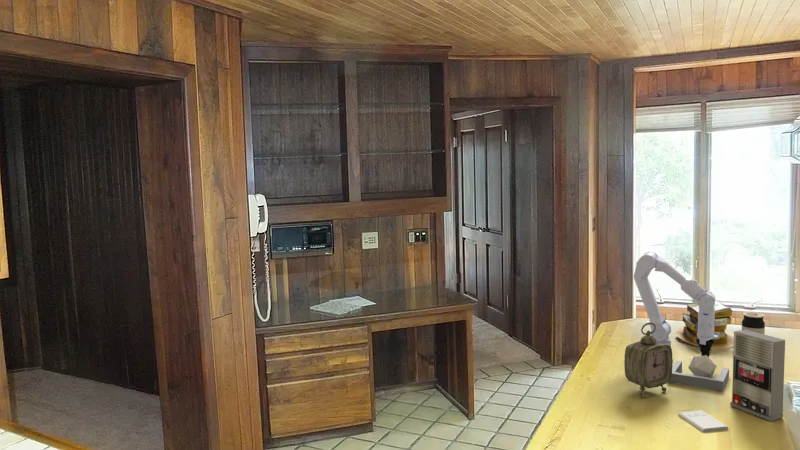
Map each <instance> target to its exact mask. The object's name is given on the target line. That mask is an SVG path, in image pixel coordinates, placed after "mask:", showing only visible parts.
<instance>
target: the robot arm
mask: <svg viewBox="0 0 800 450" xmlns="http://www.w3.org/2000/svg"><path fill="white" fill-rule="evenodd" d="M652 270H654V272H662V273H664V274H665V275H667V276H668V277H669V278H671V279H672V280H674V281H675V282H676V283H678V284H679V286H680V290H681V291H683V293H685V294H686V295H688V297H690V298H691V299H692V300H693V301H696V302H697V303H696V304H698V305H699V311H698V334H697V337H698V338H699V339H698V340H697V343H698V345H699V346H698V348H699V350H700V356H704V355H707V356H708V357H709V358H710V354H711V349H712V348H711V347H712V344H713V343H714V341H715V340H714V339H713V338H718V336H717V335H714V324H715V312H714V310H715V308H714V305H715V301H716V296H715V295H714V293H713V292H711V291H709V290H708V288H704V287H703V286H701V285H700V284H699V282H698V281H699V280H696V279H693V278H687V277H685V276H684V275H683V274H681V273H680V271H678V270H677V269H676V268H675V267H673V266H672V265H671V263H669V262H667V260H666V259H664V258H663V257H661V256H659V255H658V254H657V253H656V252H653V251H647V252H645V253H644V254H643V255H641V256H640V257H639V259H638V260H637V261H636V264H635V269H634V274H633V279H634V283H635V285H636V287H637V290H638V292H639V295H640V297H641V301H642V304H643V305H644V308H645V311H646V313H647V316H648V321H649V322H650V323H654V324H655V326H656V329H655V331H654V333H652V334H650V335H651V336H653V337H654V338H655V339H656V342H659V343H663V344H666V345H669V346H671V347H672V345H671V344H672V343H671V338H670V337H669V335H670V334H671V332H672V328H671V325H670V323H668V322H667V321H666V318H665V317H664V316H663V314H662V312H661V309H660V307H659V304H658V301H657V298H656V296H655V293H654V291H653V289H652V285H651V283H650V280H649V275H650V274H651V272H652ZM649 326H650V332H652V331H653V330H654V325H652V324H650V325H649ZM672 360H673V361H674V359H673V358H672Z"/></svg>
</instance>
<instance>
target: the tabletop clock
mask: <svg viewBox="0 0 800 450" xmlns="http://www.w3.org/2000/svg"><path fill="white" fill-rule="evenodd" d="M650 324H652V325H654V330H653V331H652V332H651V330H650V329H649V330H647V331H646V332H644V328H645V327H646V326H650ZM655 329H656V326H655V324H654V323H650V321H649V322H646V323H644V324H643V325H642V327H641V329H640V332H641V334H642V335H643V336H642V337H641V338H640V340H638V341H636V342H633V343H630V344H628V345H627V346H626V347H625V349H624V360H623V361H624V364H623V365H624V375H625V378H626V379H627V381H628V382H631V383H633V384H635V385H639V386H640V387H639V390H640V391H641V393H640V394H639V396H640V398H641V399H644V398H646V394H645V392H644V391H645V389H655V388H660V387H661V391H662V392H663V393H665V392H667V387H665V386H664V385H667V384H668V383H670V382H669V381H670V379H671V375H672V366H673V365H674V362H673V361H674V359H673V351H672V350H673V349H672V345H671V346H669V345H666V344H663V343H659V342H656V339H655V338H654V337H653V336H651V334H652V333H654V331H655ZM672 359H673V360H672Z"/></svg>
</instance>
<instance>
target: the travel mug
mask: <svg viewBox="0 0 800 450" xmlns="http://www.w3.org/2000/svg"><path fill="white" fill-rule="evenodd" d="M742 315H743V319H742V321H741V330H749V331H753V332H757V333H760V334H764V335H766V334H765V331H766V329H765V327H766V323H765V321H764V317H765V314H763V313H760V312H754V311H746V312H743V313H742Z"/></svg>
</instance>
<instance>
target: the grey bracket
mask: <svg viewBox="0 0 800 450" xmlns="http://www.w3.org/2000/svg"><path fill="white" fill-rule="evenodd" d="M682 371H683V361H682V360H676V361H675V362H673V364H672V375H671V379H670V381H669V382H668V383H671V384H678V385H682V386H689V387H694V388H701V389H707V390H713V391H718V392H724V390H725V388H726V386H727V384H728V380H729V378H730V367H724V366H723V367H722V368H721V371H720V373H719V376H718V377H717V378H713V377H711V378H709V377H703V376H696V375H694V374H689V373H683V372H682ZM681 372H682V373H681Z"/></svg>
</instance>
